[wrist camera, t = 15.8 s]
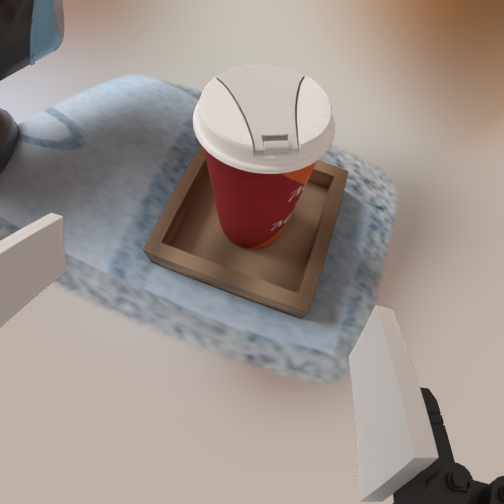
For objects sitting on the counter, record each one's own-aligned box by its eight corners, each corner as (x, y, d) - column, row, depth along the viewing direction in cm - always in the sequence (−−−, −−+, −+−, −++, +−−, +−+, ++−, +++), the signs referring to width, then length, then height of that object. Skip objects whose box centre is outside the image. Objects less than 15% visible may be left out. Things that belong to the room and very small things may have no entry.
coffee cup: (303, 257, 29) (359, 155, 15) (211, 266, 28) (191, 163, 14) (287, 178, 32) (319, 58, 18) (205, 185, 31) (190, 60, 17)
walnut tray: (151, 262, 29) (142, 250, 26) (212, 145, 34) (211, 127, 31) (300, 318, 28) (308, 312, 25) (340, 187, 33) (348, 171, 30)
